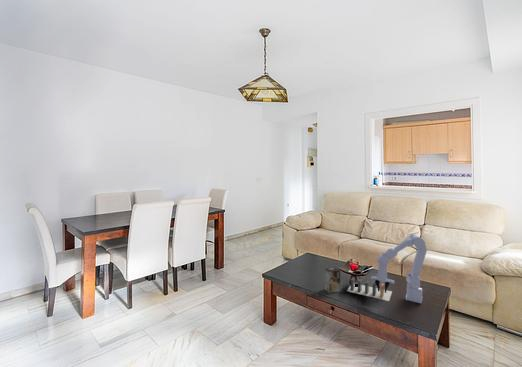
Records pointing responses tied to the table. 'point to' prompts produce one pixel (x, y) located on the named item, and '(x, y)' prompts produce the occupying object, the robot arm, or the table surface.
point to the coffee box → (332, 280)
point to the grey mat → (370, 293)
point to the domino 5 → (382, 290)
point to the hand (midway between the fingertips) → (382, 291)
